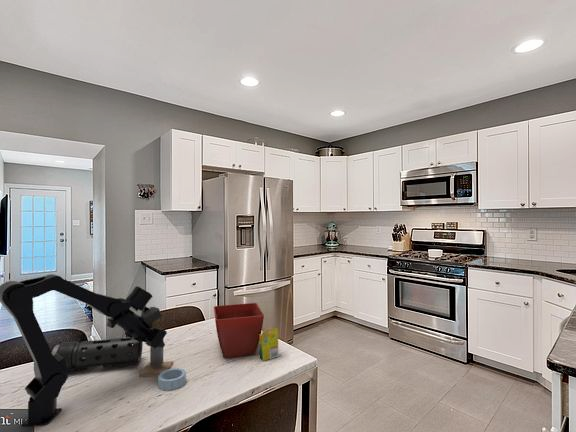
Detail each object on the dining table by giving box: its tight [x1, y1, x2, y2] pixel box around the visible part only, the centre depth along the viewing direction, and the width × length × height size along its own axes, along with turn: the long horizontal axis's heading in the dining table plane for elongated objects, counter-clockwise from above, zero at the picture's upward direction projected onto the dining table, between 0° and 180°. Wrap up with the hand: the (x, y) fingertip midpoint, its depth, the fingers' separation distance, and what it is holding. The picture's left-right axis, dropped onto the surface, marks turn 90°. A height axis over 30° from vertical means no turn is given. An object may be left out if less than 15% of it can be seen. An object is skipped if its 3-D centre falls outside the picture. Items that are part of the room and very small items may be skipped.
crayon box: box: [258, 327, 279, 362], centre depth 121 cm, size 7×3×12 cm, turn 122°
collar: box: [157, 367, 187, 392], centre depth 102 cm, size 8×8×3 cm
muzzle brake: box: [51, 336, 144, 372], centre depth 113 cm, size 10×28×10 cm, turn 105°
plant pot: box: [213, 302, 265, 359], centre depth 128 cm, size 19×19×17 cm
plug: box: [149, 337, 165, 367], centre depth 111 cm, size 4×4×11 cm
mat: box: [138, 360, 174, 377], centre depth 111 cm, size 9×9×1 cm
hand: (160, 344), depth 112 cm, fingers closed on plug, 4 cm apart
